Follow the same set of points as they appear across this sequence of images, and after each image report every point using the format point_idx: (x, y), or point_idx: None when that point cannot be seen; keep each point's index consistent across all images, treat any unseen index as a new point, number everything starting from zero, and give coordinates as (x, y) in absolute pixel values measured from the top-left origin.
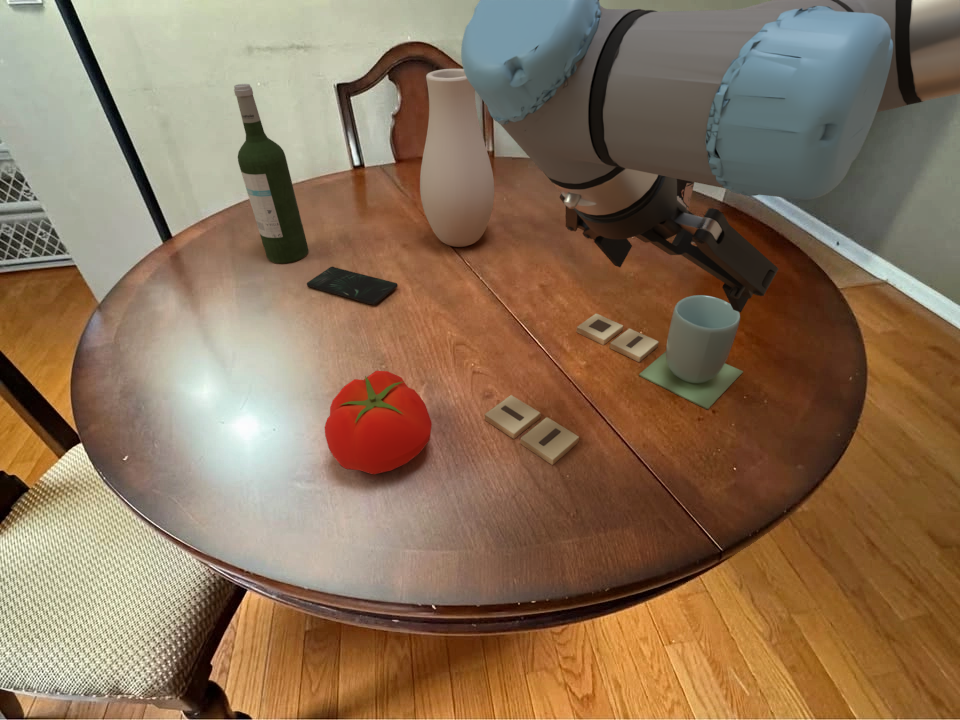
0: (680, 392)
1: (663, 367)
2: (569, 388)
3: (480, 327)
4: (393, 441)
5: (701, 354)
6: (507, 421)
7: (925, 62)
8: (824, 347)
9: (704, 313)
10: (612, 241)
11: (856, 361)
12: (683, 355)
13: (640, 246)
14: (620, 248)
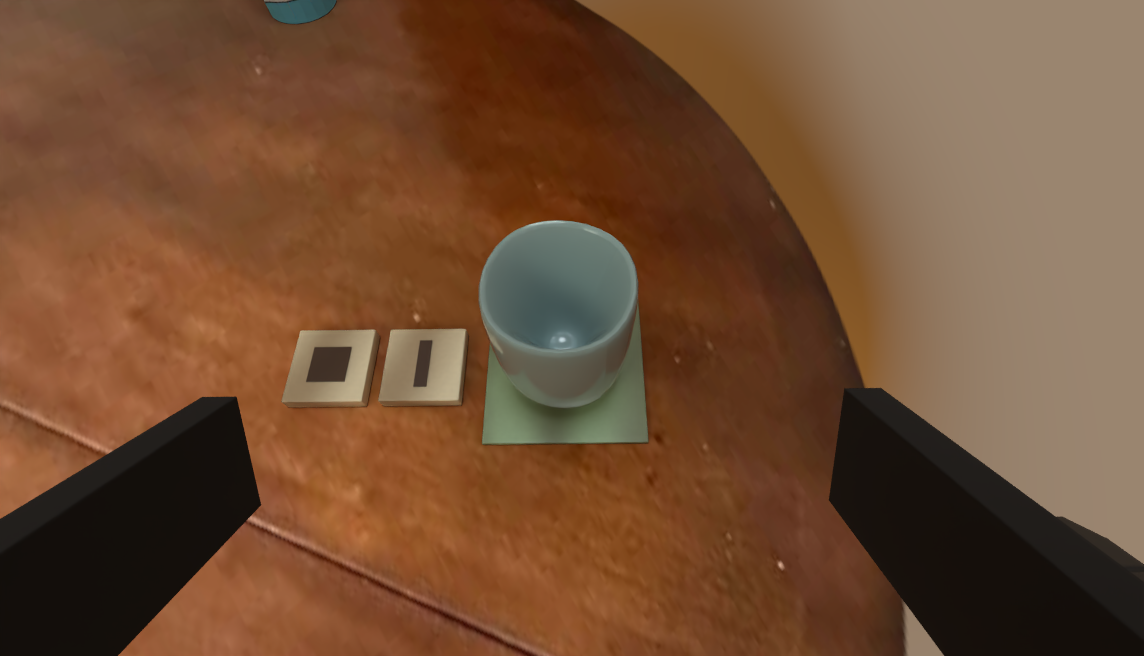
0: (581, 436)
1: (512, 389)
2: (370, 601)
3: None
4: None
5: (598, 379)
6: None
7: None
8: (700, 159)
9: (538, 264)
10: (59, 627)
11: (755, 162)
12: (559, 394)
13: (286, 87)
14: (177, 511)
